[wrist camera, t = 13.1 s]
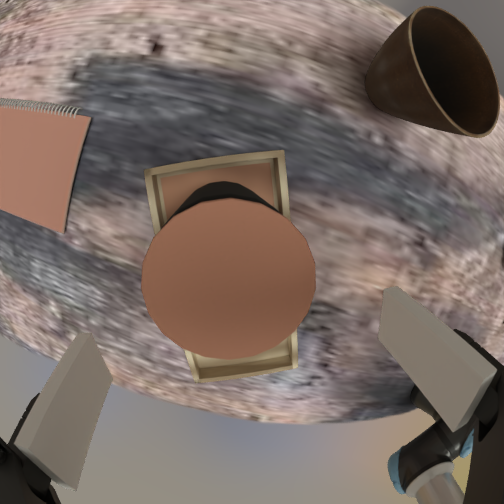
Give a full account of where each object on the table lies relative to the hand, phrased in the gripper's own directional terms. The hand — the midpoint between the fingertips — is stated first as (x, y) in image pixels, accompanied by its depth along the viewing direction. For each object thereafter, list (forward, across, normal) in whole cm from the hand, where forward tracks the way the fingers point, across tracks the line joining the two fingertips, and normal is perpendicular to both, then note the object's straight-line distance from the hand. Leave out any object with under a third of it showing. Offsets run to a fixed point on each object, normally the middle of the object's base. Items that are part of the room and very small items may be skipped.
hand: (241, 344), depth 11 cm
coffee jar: (+24, 0, 0) cm, 24 cm away
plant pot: (+25, -25, -17) cm, 39 cm away
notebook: (+25, +31, -16) cm, 43 cm away
